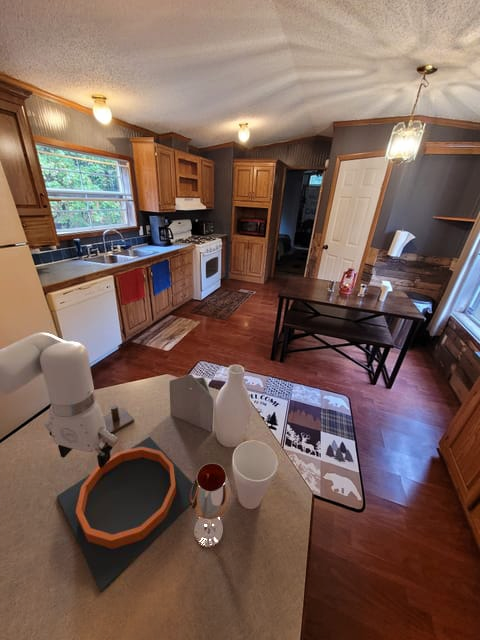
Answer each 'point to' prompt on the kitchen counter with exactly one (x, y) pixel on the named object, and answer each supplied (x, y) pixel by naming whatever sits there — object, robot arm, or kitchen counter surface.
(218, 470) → the wineglass
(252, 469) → the cup
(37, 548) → the kitchen counter surface
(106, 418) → the peg
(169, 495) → the hoop
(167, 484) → the mat
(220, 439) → the bottle
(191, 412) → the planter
